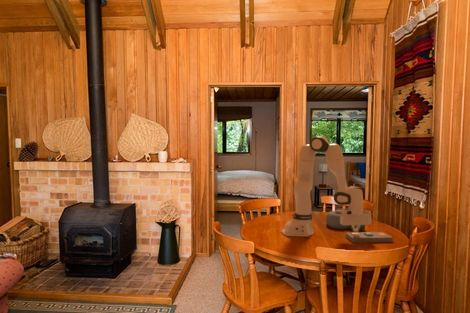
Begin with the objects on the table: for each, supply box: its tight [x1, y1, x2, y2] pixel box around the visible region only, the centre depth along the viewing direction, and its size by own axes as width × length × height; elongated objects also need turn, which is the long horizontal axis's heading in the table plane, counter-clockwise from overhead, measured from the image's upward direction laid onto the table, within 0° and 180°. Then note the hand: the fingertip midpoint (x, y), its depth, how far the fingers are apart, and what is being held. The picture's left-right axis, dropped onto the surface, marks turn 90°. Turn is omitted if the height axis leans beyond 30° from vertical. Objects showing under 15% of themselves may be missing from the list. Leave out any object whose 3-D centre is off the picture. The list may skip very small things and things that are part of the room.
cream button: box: [350, 232, 360, 236], centre depth 196 cm, size 4×4×2 cm
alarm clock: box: [325, 209, 351, 230], centre depth 230 cm, size 19×20×12 cm
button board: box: [345, 231, 394, 244], centre depth 196 cm, size 26×12×3 cm, turn 92°
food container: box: [350, 225, 366, 232], centre depth 216 cm, size 12×6×10 cm, turn 68°
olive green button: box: [363, 231, 373, 236], centre depth 196 cm, size 4×4×2 cm
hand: (355, 231), depth 196 cm, fingers closed
